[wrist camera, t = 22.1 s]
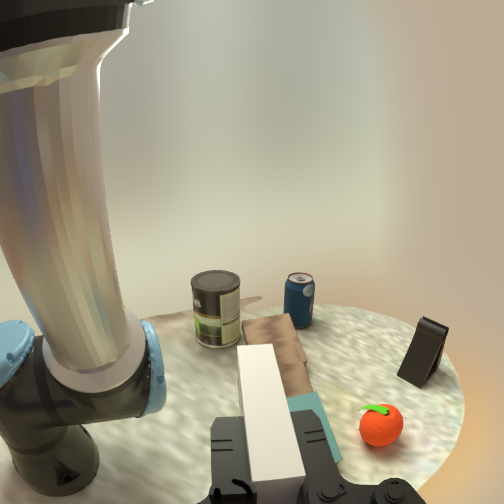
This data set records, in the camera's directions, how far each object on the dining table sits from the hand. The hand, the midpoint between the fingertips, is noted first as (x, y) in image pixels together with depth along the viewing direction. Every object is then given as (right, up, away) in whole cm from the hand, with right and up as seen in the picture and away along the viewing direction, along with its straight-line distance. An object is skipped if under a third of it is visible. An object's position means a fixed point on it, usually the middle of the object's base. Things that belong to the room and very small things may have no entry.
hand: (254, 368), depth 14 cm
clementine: (+19, -24, +28) cm, 42 cm away
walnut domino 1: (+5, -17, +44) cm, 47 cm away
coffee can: (-8, -14, +57) cm, 60 cm away
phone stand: (+34, -19, +42) cm, 57 cm away
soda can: (+11, -12, +63) cm, 65 cm away
